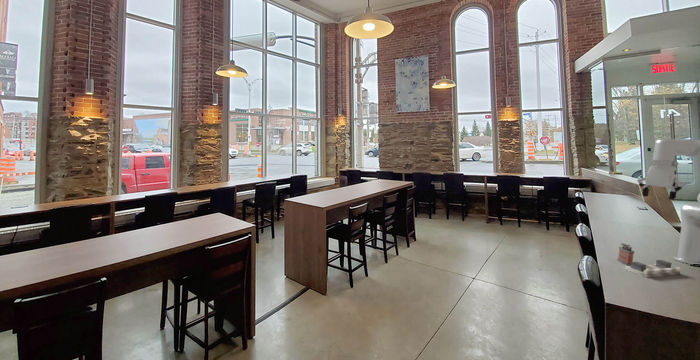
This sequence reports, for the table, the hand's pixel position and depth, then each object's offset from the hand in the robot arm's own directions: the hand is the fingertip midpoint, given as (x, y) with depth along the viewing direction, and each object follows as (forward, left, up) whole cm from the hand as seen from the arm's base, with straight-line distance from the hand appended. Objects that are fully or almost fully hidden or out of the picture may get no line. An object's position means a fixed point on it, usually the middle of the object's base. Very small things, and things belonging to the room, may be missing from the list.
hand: (658, 197), depth 143 cm
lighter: (+11, -3, -35) cm, 37 cm away
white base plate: (+10, +8, -35) cm, 37 cm away
